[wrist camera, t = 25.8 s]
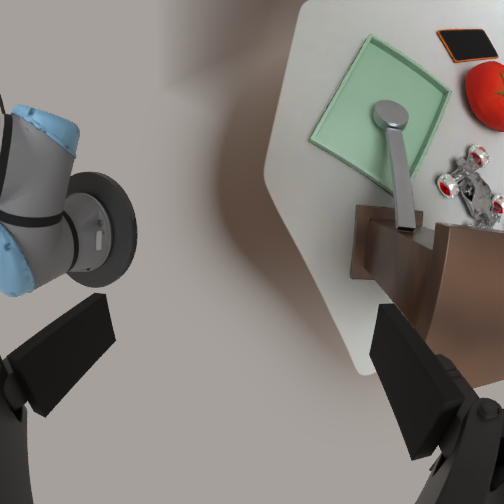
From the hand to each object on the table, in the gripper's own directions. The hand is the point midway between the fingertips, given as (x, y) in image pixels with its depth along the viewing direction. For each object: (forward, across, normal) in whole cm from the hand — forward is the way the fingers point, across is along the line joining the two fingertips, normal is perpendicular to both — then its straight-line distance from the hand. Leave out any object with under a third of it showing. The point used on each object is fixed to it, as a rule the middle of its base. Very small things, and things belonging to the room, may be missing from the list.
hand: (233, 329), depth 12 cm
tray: (+34, +20, +19) cm, 43 cm away
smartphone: (+33, +42, +39) cm, 67 cm away
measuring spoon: (+27, +19, +10) cm, 35 cm away
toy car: (+33, +38, +7) cm, 51 cm away
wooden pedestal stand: (+33, +20, -3) cm, 39 cm away
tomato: (+33, +43, +26) cm, 60 cm away
